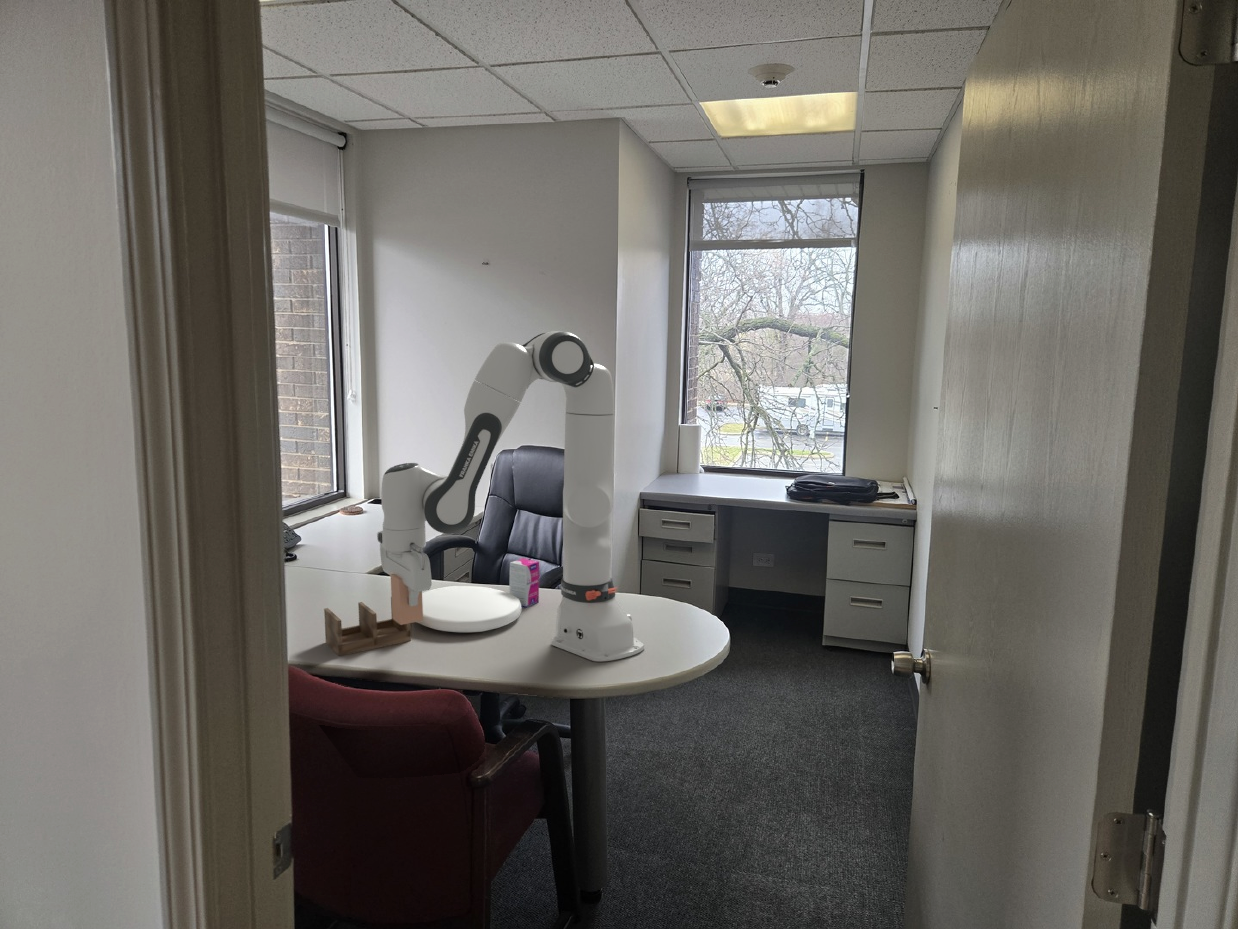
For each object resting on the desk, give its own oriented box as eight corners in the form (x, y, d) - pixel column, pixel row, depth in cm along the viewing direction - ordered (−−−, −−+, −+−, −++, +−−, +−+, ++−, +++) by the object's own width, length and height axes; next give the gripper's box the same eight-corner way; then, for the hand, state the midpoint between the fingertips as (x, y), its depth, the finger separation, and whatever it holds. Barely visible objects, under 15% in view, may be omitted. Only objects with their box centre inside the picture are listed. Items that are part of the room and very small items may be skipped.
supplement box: (526, 608, 212) (526, 565, 210) (508, 604, 215) (508, 562, 213) (539, 602, 217) (539, 560, 215) (522, 598, 220) (521, 557, 218)
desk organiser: (410, 640, 189) (409, 607, 187) (339, 656, 179) (337, 621, 178) (395, 628, 197) (394, 596, 195) (325, 642, 187) (324, 608, 186)
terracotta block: (423, 620, 177) (421, 575, 176) (400, 625, 174) (399, 579, 173) (414, 614, 181) (412, 570, 180) (392, 618, 178) (390, 574, 177)
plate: (538, 591, 212) (492, 625, 187) (536, 615, 213) (490, 652, 188) (442, 570, 219) (386, 600, 194) (440, 593, 221) (384, 626, 195)
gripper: (438, 546, 168) (440, 611, 171) (401, 528, 185) (404, 587, 187) (408, 551, 165) (411, 617, 167) (374, 532, 181) (376, 592, 183)
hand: (407, 601), depth 177 cm, fingers closed on terracotta block, 5 cm apart
